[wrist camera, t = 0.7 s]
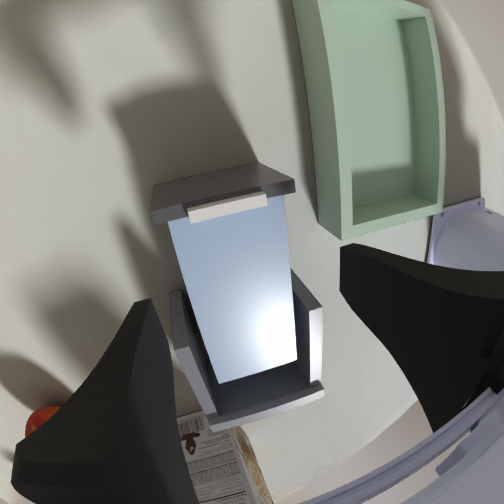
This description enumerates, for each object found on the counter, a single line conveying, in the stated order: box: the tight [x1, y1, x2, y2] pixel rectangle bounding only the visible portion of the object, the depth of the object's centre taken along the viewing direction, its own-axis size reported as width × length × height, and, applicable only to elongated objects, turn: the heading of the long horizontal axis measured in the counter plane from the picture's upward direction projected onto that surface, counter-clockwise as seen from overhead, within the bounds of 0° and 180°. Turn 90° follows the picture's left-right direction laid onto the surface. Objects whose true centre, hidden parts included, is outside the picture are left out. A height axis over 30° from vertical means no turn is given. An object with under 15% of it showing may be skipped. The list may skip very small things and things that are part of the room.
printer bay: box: [169, 268, 324, 432], centre depth 19 cm, size 8×8×6 cm
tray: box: [292, 0, 446, 241], centre depth 16 cm, size 10×16×3 cm, turn 8°
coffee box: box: [177, 410, 274, 504], centre depth 20 cm, size 9×6×16 cm
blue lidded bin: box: [150, 163, 297, 384], centre depth 16 cm, size 6×11×6 cm, turn 8°
